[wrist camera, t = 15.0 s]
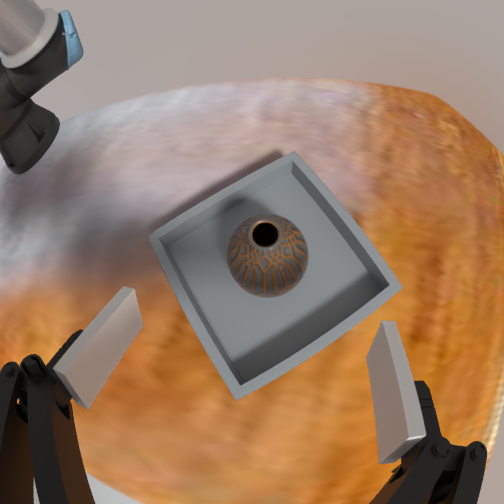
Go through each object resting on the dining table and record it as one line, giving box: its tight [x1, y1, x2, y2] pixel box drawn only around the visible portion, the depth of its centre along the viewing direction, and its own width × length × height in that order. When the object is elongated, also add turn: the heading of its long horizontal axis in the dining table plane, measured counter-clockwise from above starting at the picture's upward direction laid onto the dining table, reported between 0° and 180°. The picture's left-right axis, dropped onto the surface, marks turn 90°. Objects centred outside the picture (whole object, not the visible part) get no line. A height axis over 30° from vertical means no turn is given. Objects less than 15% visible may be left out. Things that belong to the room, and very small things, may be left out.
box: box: [147, 151, 403, 401], centre depth 26 cm, size 18×18×4 cm
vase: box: [227, 214, 309, 298], centre depth 23 cm, size 7×7×9 cm
